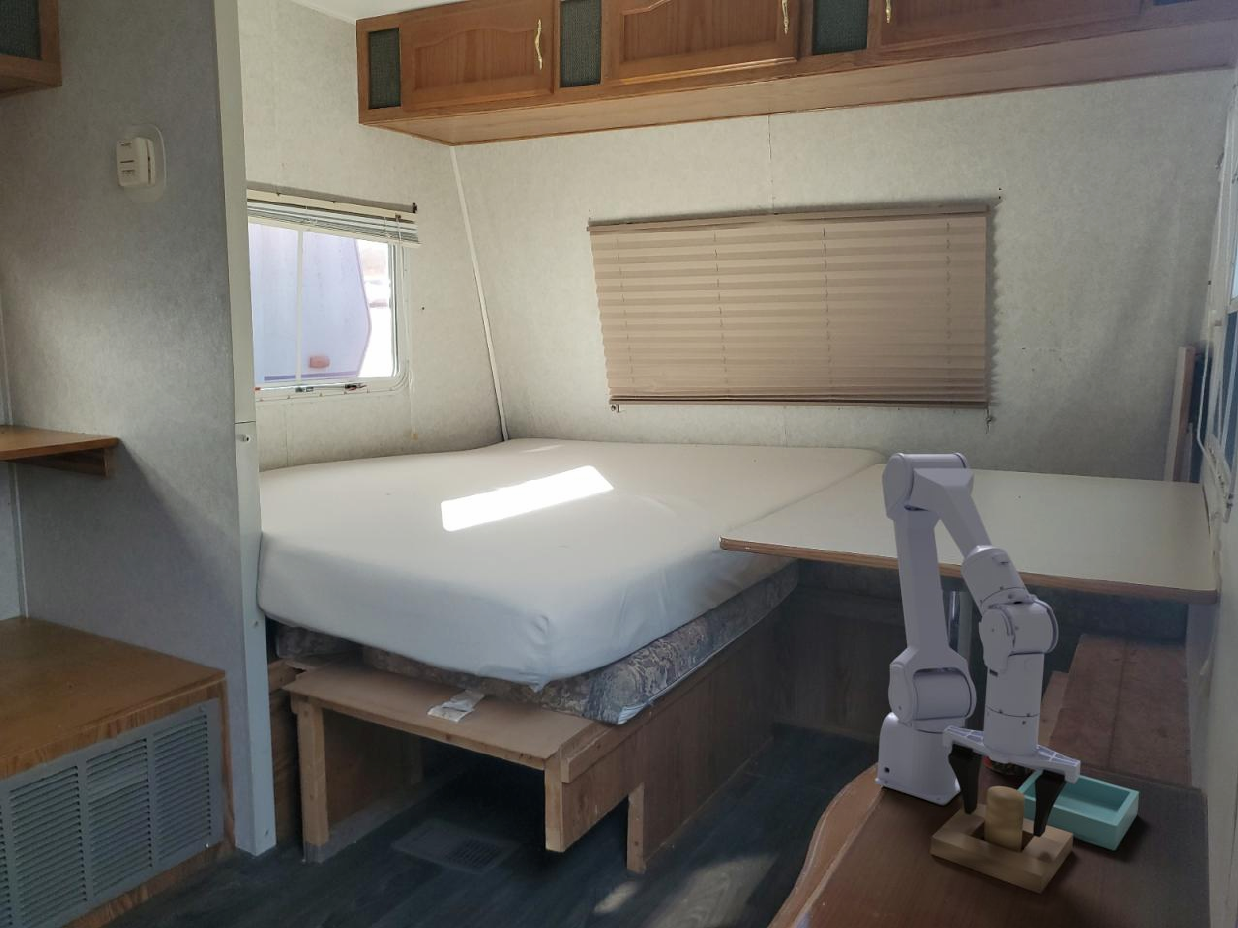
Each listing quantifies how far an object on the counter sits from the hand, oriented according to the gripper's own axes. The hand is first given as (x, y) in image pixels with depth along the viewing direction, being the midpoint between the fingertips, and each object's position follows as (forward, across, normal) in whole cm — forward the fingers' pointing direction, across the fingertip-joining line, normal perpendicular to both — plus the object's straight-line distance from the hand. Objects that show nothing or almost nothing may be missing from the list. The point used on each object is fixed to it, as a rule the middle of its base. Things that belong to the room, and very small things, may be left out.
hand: (1004, 821), depth 108 cm
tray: (+4, +4, +15) cm, 16 cm away
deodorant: (+4, -7, +24) cm, 25 cm away
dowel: (+4, 0, 0) cm, 4 cm away
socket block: (+4, 0, 0) cm, 4 cm away
